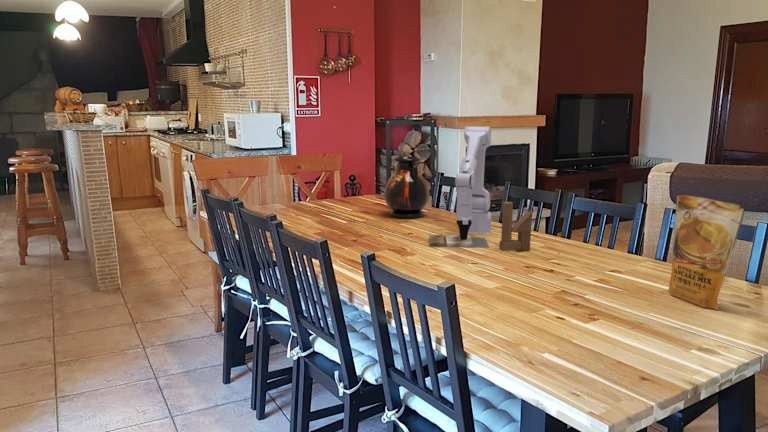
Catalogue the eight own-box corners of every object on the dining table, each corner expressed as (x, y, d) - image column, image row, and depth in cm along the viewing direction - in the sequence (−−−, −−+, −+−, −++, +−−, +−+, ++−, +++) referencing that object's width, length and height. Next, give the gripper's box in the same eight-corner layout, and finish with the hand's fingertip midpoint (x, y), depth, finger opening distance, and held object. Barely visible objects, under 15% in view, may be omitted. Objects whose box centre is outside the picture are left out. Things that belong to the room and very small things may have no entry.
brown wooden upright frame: (530, 250, 211) (532, 202, 207) (503, 252, 208) (505, 203, 205) (525, 248, 214) (527, 200, 211) (498, 250, 212) (500, 201, 208)
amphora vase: (377, 213, 283) (376, 156, 277) (415, 210, 292) (416, 155, 286) (396, 221, 263) (396, 160, 258) (437, 217, 272) (438, 158, 267)
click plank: (469, 238, 228) (469, 235, 228) (472, 246, 214) (473, 243, 214) (445, 237, 228) (445, 234, 228) (446, 246, 215) (446, 243, 214)
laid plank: (444, 237, 228) (444, 235, 228) (446, 246, 215) (446, 243, 214) (429, 237, 229) (429, 234, 229) (429, 246, 215) (429, 243, 215)
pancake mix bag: (676, 288, 167) (685, 193, 162) (734, 310, 149) (747, 203, 144) (657, 291, 165) (666, 194, 159) (715, 313, 147) (727, 205, 142)
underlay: (484, 239, 229) (484, 237, 228) (489, 249, 213) (489, 247, 213) (429, 238, 230) (429, 237, 230) (429, 248, 214) (429, 246, 214)
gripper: (452, 201, 226) (451, 235, 228) (454, 207, 211) (454, 243, 214) (470, 201, 225) (469, 235, 228) (474, 207, 211) (473, 243, 214)
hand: (463, 239), depth 221 cm, fingers closed, pressing on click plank
